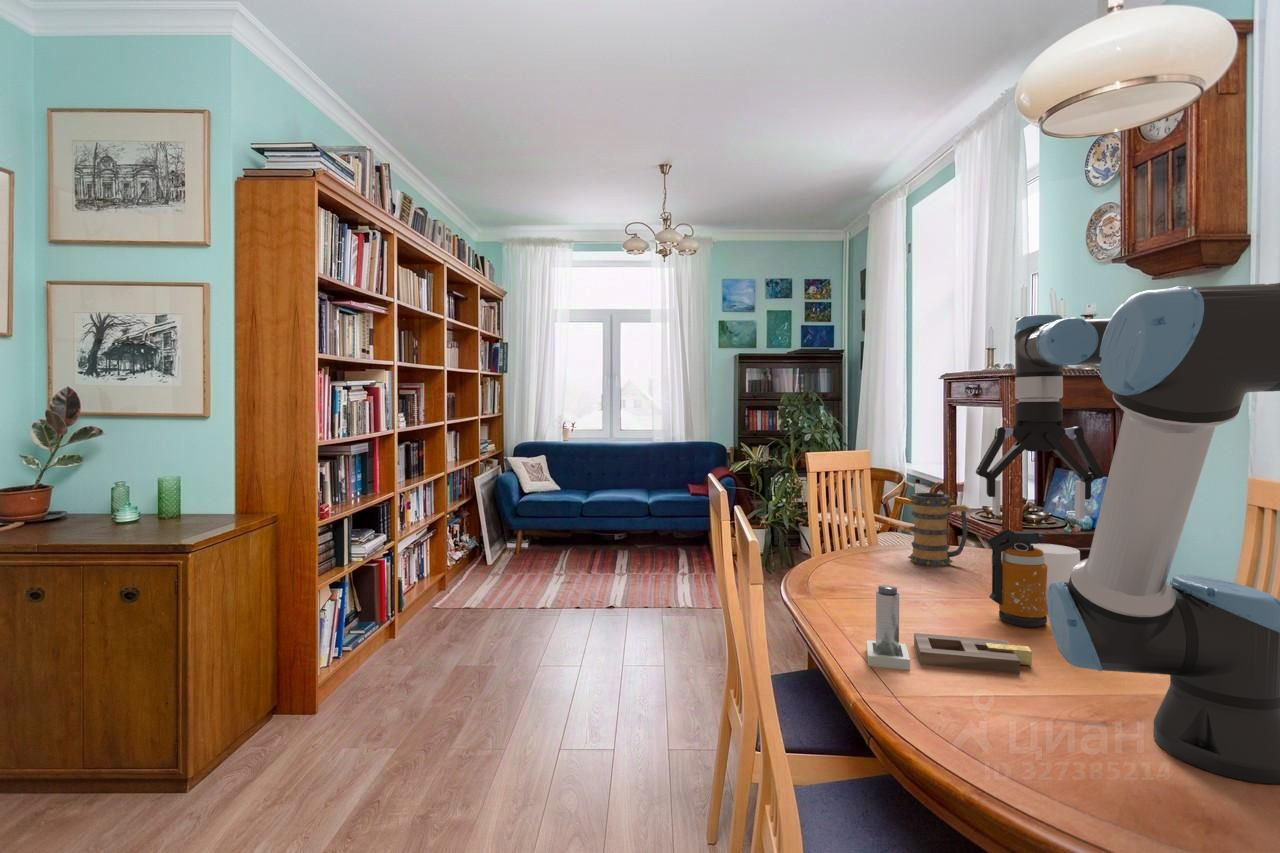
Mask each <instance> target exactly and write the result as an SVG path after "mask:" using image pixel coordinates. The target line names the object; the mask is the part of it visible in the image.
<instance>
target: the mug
mask: <svg viewBox="0 0 1280 853" xmlns="http://www.w3.org/2000/svg"><path fill="white" fill-rule="evenodd" d="M906 499H908V500H909V501H910V503H911V504H912V511H911V515H912V516H913V519H914V520H913V524H914V525H913V528H912V529H911V530H912V531H913V532H914V534H913V535H914V537H913V541H912V542H911V547H912V553H911V554H910V555H908V556H907V558H909V559H910V561H911V563H913V564H915V565H919V566H923V567H931V568H932V567H934V568H941V567H947V566H950V564H951V563H954V562H955V561H954V560H952V559H950V558H952V557H957V556H960V555H961V553H962V552H963V549H964V547H965V545H966V542H967V537H968V523H967V512H969V511H971V510H972V508H970V507H969V506H967V505H965V504H954V505H951V503H953V502H955V501H954V500H953V499H952V498H951V496H950V494H947V493H937V492H915V493H914V492H913V493H911V494H910V496H909V497H907V498H906ZM952 512H960V514H961V526H962V537H961V541H960V543H959V546H958V547H957V549H955V550H949V549H950V547H951V546H950V545H949V544H948V540H947V539H948V537H947V535H948V532H949V529H948V528H947V525H948V522H947V521H948V518H950V516H951V515H950V513H952Z"/></svg>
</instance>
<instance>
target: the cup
mask: <svg viewBox="0 0 1280 853" xmlns="http://www.w3.org/2000/svg"><path fill="white" fill-rule="evenodd" d="M1031 545H1033V547H1034V548H1038V549H1040V550H1042V551H1043V554H1044V563H1045V564H1046V565H1047V593H1048V588H1049V586H1050V585H1051V584H1052V583H1055V582H1059V581H1063V582H1069V579H1070V575H1071V571H1072V569H1073V567H1074V566H1075V565H1076V564H1077V563H1078V562H1080V561H1081V551H1080V550H1079V549H1077V548H1074V547H1072V546H1065V545H1063V544H1062V545H1061V544H1052V543H1038V544H1031ZM1030 547H1031V546H1030Z"/></svg>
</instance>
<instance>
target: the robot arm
mask: <svg viewBox="0 0 1280 853" xmlns="http://www.w3.org/2000/svg"><path fill="white" fill-rule="evenodd" d="M1015 325H1016V326H1015V331H1014V332H1015V334H1014V337H1013V338H1014V340H1015V341H1014V342H1015V343H1014V347H1015V348H1014V349H1015V350H1014V351H1015V353H1014V354H1015V356H1014V360H1015V361H1014V366H1015V367H1014V369H1015V371H1014V372H1015V375H1014V376H1015V379H1014V380H1015V382H1014V389H1015V390H1014V398H1015V399H1016V400H1018V401H1017V402H1015V403H1014V425H1013V427H1012V428H1010V427H1009V428H1007V427H1003V426H997V427H995V429H994V436H993V439H992V441H991V444H989V446H988V448H987V450H986V452H985V454H984V455H983V457H982V459H981V460H980V461H979V464H978V466H977V468H976V470H975V474H976V475H977V476H979V477H982V478H984V479H985V480H986V495H987V497H990V498H992V500H991V501H992V504H991V505H992V506H991V508H992V509H991V510H992V514H993V515H994V516H995V517H996V516H997V517H1000V516H1001V480H999V479H997V477H999V476H1000V475H1001V473H1003V472H1004V471H1005V469H1007V467H1008V466H1010V464H1011V463H1013V461H1014V460H1015V459H1017V457H1018V456H1019V455H1020V454H1021V453H1023V452H1024V451H1027V452H1038V451H1041V452H1045V453H1046V452H1050V451H1053V452H1054V453H1055V454H1056V455H1057V456H1058V457H1059V458H1060V459H1061V461H1063V462H1064V463H1065V464H1066V466H1068V468H1069V469H1070V470H1072V472H1074V474H1075V475H1076V476H1077V477H1078V478H1079V479H1080V480H1075V481H1074V516H1075V517H1077V518H1079V519H1083V520H1084V519H1085V518H1086V514H1085V513H1086V500H1090V499H1091V498H1092V483H1093V482H1094V480H1098V479H1103V478H1104V477H1105V475H1104V474H1105V473H1104V471H1103V470H1102V468H1101V466H1100V465H1099V463H1098V461H1097V459H1096V457H1095V455H1094V454H1093V452H1092V450H1091V449H1090V447H1089V446H1088V443H1087V442H1086V440H1085V436H1084V435H1085V434H1084V429H1083V427H1081V426H1072V427H1068V428H1067V427H1066V428H1065V427H1064V425H1063V422H1064V421H1063V410H1064V409H1063V408H1064V406H1063V403H1062V401H1060V399H1062V398H1063V396H1064V384H1063V383H1064V380H1063V379H1064V366H1088V365H1089V366H1090V365H1099V373H1100V377H1101V380H1102V382H1103V384H1104V386H1105V387H1106V388H1107V389H1108V390H1109V391H1111V392H1112V400H1113V401H1114V403H1115V404H1116V405H1117V406H1118V407H1119V408H1121V410H1122V411H1123V415H1122V419H1121V424H1120V428H1119V433H1118V434H1117V435H1118V436H1117V441H1116V443H1115V448H1114V453H1113V457H1112V461H1111V464H1110V468H1109V472H1108V477H1107V480H1106V485H1105V488H1104V492H1103V497H1102V501H1101V504H1100V505H1101V506H1100V508H1099V512H1098V516H1097V521H1096V525H1095V529H1094V533H1093V538H1092V541H1091V545H1090V550H1089V554H1088V558H1084V559H1081V560H1080V562H1078V563H1077V564H1076V565H1075V566H1074V567H1073V569H1072V571H1071V575H1070V579H1069V582H1063V581H1059V582H1055V583H1052V584H1051V585H1050V586H1049V588H1048V593H1047V615H1048V620H1049V624H1050V629H1051V633H1052V636H1053V639H1054V643H1055V645H1056V646H1057V649H1058V652H1059V653H1060V655H1061V657H1062V658H1063V659H1064V661H1066V662H1067V663H1068V664H1069V665H1071V666H1073V667H1076V668H1080V669H1087V670H1095V671H1098V672H1103V671H1105V672H1118V673H1119V672H1120V673H1122V672H1123V673H1133V674H1135V673H1136V674H1151V675H1168V676H1169V678H1170V679H1169V686H1168V689H1167V690H1166V693H1165V695H1164V698H1163V699H1162V702H1161V704H1160V706H1159V708H1158V710H1157V712H1156V714H1155V717H1154V718H1153V729H1152V731H1153V733H1152V734H1153V739H1154V741H1155V742H1156V743H1157V744H1158V746H1160V748H1161V749H1163V750H1164V751H1165V752H1167V753H1168V754H1169V755H1172V756H1173V757H1175V758H1177V759H1179V760H1181V761H1182V762H1185V763H1187V764H1190V765H1192V766H1194V767H1197V768H1199V769H1202V770H1205V771H1208V772H1211V773H1213V774H1217V775H1220V776H1223V777H1227V778H1231V779H1237V780H1241V781H1245V782H1252V783H1259V784H1271V785H1272V784H1278V785H1280V599H1278V598H1277V597H1276V596H1274V595H1273V594H1270V593H1268V592H1265V591H1263V590H1260V589H1258V588H1254V587H1250V586H1247V585H1243V584H1239V583H1236V582H1231V581H1228V580H1227V581H1226V580H1223V579H1218V578H1214V577H1213V578H1212V577H1209V576H1208V577H1207V576H1202V575H1195V574H1193V575H1192V574H1176V575H1173V576H1172V577H1171V578H1172V579H1171V580H1170V582H1168V581H1167V580H1168V577H1169V574H1170V571H1171V568H1172V565H1173V564H1172V563H1173V561H1174V558H1175V554H1176V551H1177V548H1178V546H1179V542H1180V540H1181V536H1182V532H1183V531H1184V530H1183V529H1184V527H1185V523H1186V521H1187V518H1188V514H1189V510H1190V509H1191V508H1190V507H1191V504H1192V502H1193V498H1194V496H1195V493H1196V489H1197V486H1198V482H1199V479H1200V476H1201V474H1202V470H1203V467H1204V464H1205V461H1206V457H1207V454H1208V450H1209V448H1210V445H1211V441H1212V438H1213V436H1214V432H1215V429H1216V427H1218V426H1220V425H1223V424H1225V423H1228V422H1231V421H1233V420H1234V419H1236V418H1237V416H1238V414H1239V412H1240V410H1241V406H1242V402H1243V401H1244V398H1245V395H1246V394H1247V393H1258V392H1262V393H1263V392H1264V393H1265V392H1268V393H1269V392H1280V282H1276V283H1257V284H1256V283H1254V284H1253V283H1252V284H1249V283H1248V284H1233V285H1232V284H1231V285H1228V284H1226V285H1210V286H1209V285H1207V286H1206V285H1205V286H1204V285H1201V286H1190V285H1189V286H1188V285H1176V286H1172V287H1169V288H1159V289H1149V290H1144V291H1140V292H1138V293H1135V294H1133V295H1132V296H1130V297H1129V298H1128V299H1127V300H1126V301H1124V302H1123V303H1121V304H1120V305H1119V306H1118V308H1117V309H1116V310H1115V311H1114V313H1113V314H1112V316H1111V317H1110V318H1093V319H1092V318H1088V319H1082V318H1079V317H1067V318H1065V317H1063V316H1061V315H1059V314H1057V313H1041V314H1031V315H1030V314H1029V315H1025V316H1022V317H1019V318H1018V319H1017V320H1016V324H1015ZM1010 435H1011V436H1012V437H1013V438H1014V440H1016V442H1015V443H1014V444H1012V446H1011V447H1010V448H1009V450H1008V451H1007V452H1006V453H1005V454H1004V455H1003V456H1002V457H1001V458H1000V459H999V460H998V461H997V462H996V463H995V464H994V465H993V467H992V468H991V469H989V468H990V467H991V465H992V463H993V461H994V459H995V458H996V456H997V454H998V452H999V451H1000V449H1001V447H1002V445H1003V444H1004V442H1005V440H1007V439H1008V438H1009V437H1010ZM1065 435H1066V436H1067V437H1068V439H1070V440H1072V443H1073V444H1074V446H1075V449H1077V451H1078V454H1079V455H1080V457H1081V459H1082V460H1083V462H1084V465H1085V466H1086V467H1087V469H1088V471H1089V472H1088V471H1087V470H1086V469H1085V468H1084V467H1083V466H1082V465H1081V464H1080V463H1079V462H1078V461H1077V460H1076V458H1075V457H1074V456H1073V455H1072V454H1071V453H1069V451H1068V450H1067V448H1066V447H1065V446H1064V445H1063V444H1062V443H1061V441H1062V439H1063V438H1064V437H1065ZM988 470H989V471H988Z"/></svg>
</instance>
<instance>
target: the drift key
mask: <svg viewBox="0 0 1280 853" xmlns="http://www.w3.org/2000/svg"><path fill="white" fill-rule="evenodd" d="M985 651H995V652H1006V653H1015V654H1016V656H1017V657H1018V659H1019V660H1020V665H1025V666H1033V651H1032V649H1031V648H1030V647H1029V646H1026V645H1017V644H1016V645H1014V644H1009V645H1004V644H992V643H986V646H985Z"/></svg>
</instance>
